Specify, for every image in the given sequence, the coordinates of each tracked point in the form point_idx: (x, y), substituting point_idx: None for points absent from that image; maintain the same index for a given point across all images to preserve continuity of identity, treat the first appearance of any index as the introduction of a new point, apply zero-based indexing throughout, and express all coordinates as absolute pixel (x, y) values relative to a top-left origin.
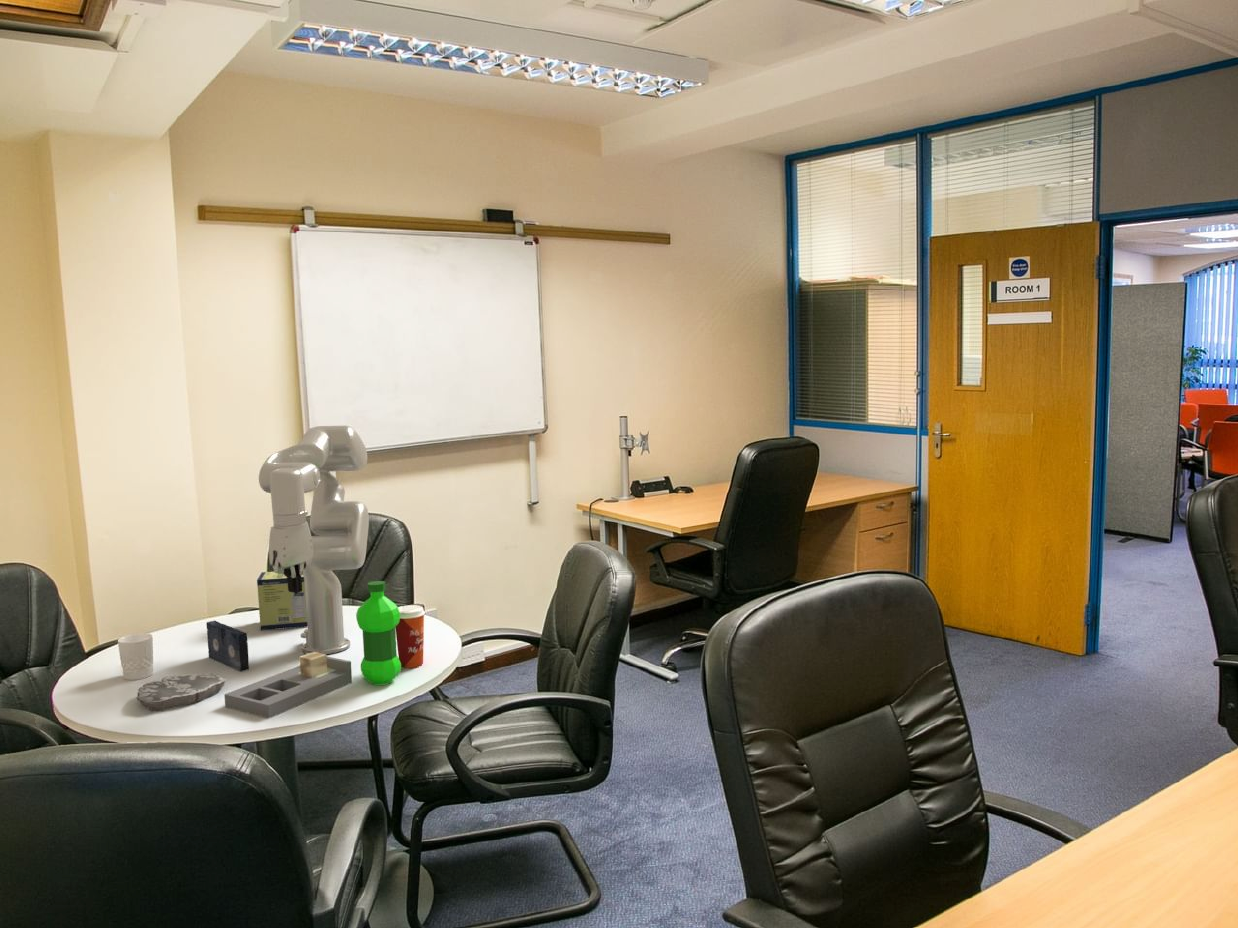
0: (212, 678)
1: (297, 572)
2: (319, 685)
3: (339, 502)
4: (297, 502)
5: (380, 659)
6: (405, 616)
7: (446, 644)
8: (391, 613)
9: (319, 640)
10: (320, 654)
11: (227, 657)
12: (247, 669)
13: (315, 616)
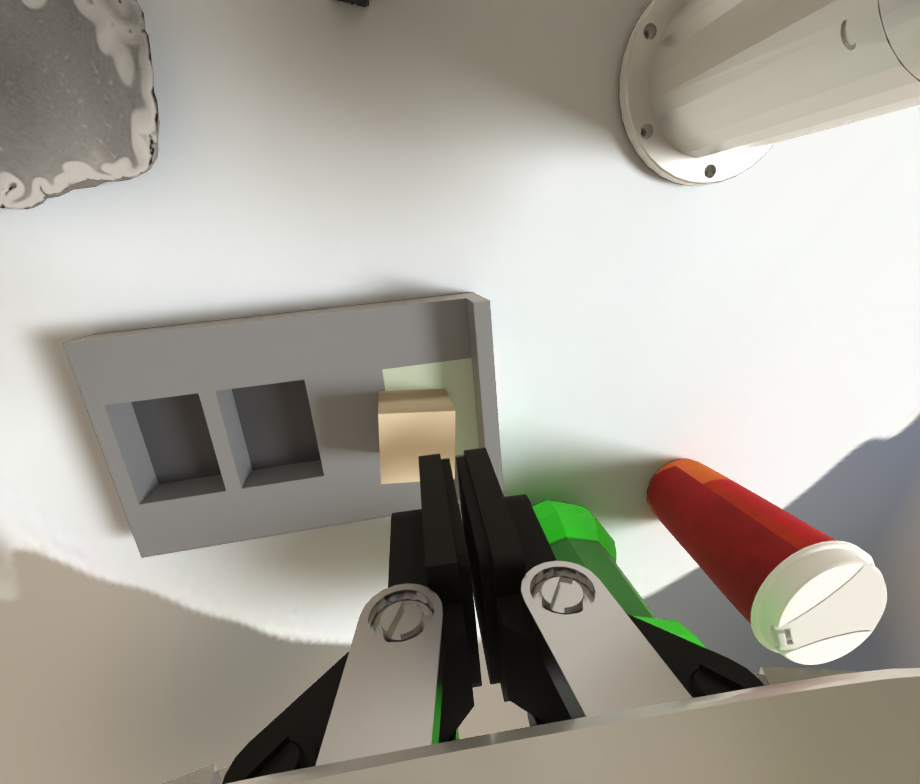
0: (113, 85)
1: (527, 706)
2: (358, 518)
3: None
4: None
5: None
6: (765, 639)
7: (854, 431)
8: None
9: (676, 108)
10: (444, 458)
11: None
12: (360, 5)
13: (759, 50)
